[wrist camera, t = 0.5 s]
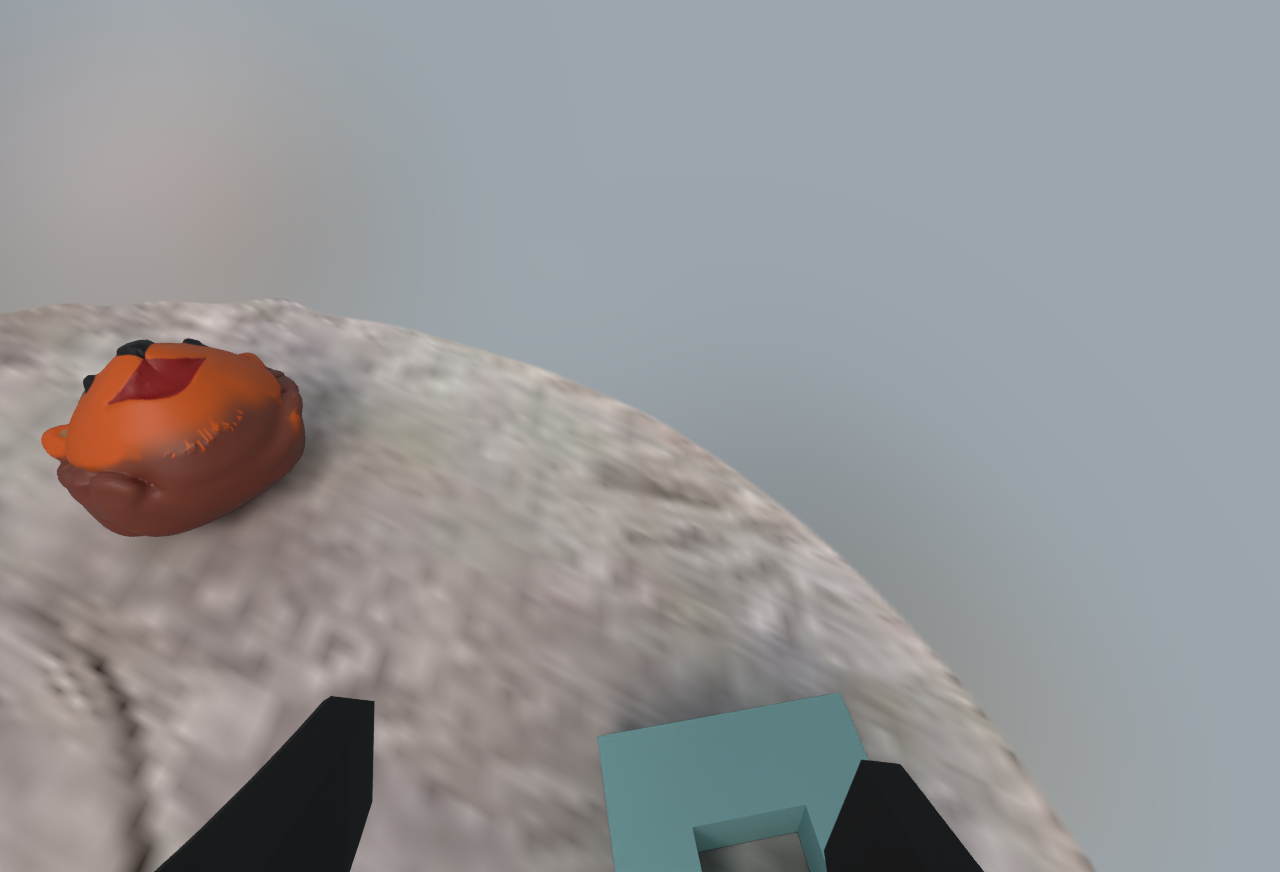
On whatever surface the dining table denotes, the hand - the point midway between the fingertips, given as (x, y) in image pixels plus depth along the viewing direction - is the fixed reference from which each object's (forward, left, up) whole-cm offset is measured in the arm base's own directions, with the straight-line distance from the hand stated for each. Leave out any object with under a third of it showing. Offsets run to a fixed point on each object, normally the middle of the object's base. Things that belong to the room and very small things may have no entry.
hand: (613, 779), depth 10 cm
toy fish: (+29, +20, -19) cm, 40 cm away
